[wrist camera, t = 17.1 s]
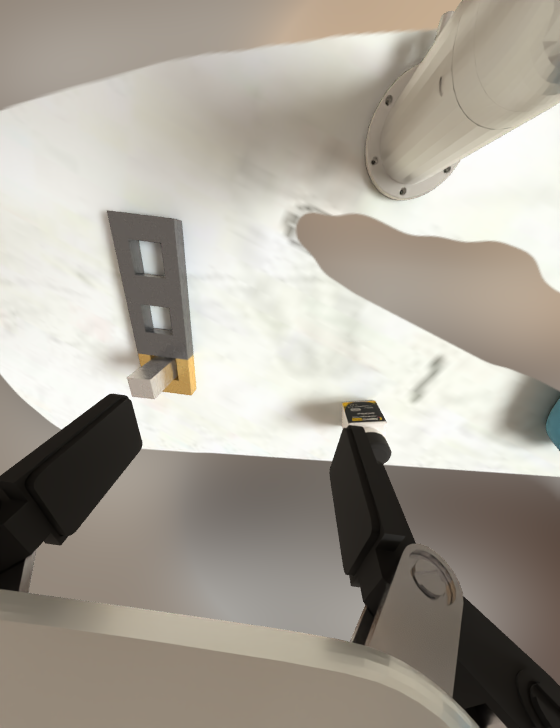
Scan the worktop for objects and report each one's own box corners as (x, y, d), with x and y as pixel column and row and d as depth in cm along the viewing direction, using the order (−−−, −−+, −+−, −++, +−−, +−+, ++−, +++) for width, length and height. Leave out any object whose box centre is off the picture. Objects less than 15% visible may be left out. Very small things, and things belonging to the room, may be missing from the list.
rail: (119, 213, 34) (106, 210, 32) (181, 220, 34) (173, 218, 32) (152, 383, 49) (145, 389, 46) (196, 388, 49) (191, 395, 46)
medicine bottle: (375, 399, 47) (398, 442, 36) (373, 424, 50) (393, 471, 39) (341, 401, 47) (354, 444, 37) (341, 426, 51) (353, 471, 40)
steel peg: (160, 352, 45) (126, 377, 36) (179, 354, 45) (150, 379, 36) (163, 369, 47) (132, 396, 38) (181, 371, 47) (154, 399, 38)
